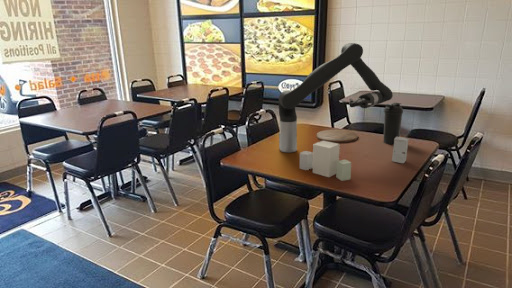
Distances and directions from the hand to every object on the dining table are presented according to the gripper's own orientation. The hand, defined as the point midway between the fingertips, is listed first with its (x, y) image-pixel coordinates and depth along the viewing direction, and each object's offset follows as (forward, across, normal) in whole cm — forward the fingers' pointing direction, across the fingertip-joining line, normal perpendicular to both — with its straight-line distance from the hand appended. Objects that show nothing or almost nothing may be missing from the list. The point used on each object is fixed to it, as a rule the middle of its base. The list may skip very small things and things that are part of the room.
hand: (351, 105), depth 183 cm
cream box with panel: (+25, +2, +28) cm, 37 cm away
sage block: (+25, +12, +28) cm, 40 cm away
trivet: (-30, -26, +28) cm, 49 cm away
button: (+22, +2, +22) cm, 31 cm away
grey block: (+26, -8, +28) cm, 39 cm away
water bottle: (-40, +4, +28) cm, 49 cm away
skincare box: (-12, +22, +28) cm, 37 cm away
